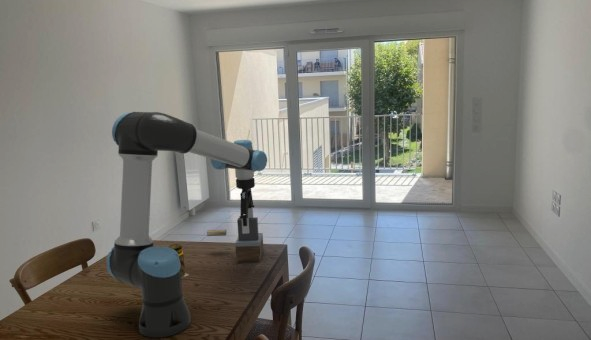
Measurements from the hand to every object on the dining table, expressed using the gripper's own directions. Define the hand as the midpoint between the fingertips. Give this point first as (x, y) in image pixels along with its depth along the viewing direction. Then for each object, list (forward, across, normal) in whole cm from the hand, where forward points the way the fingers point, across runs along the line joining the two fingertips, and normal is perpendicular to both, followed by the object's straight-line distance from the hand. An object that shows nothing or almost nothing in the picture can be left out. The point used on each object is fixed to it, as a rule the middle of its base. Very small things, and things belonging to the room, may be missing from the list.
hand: (248, 227), depth 182 cm
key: (+5, +6, +15) cm, 17 cm away
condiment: (+14, -16, +27) cm, 34 cm away
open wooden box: (+14, +2, 0) cm, 14 cm away
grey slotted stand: (+7, +2, 0) cm, 8 cm away
